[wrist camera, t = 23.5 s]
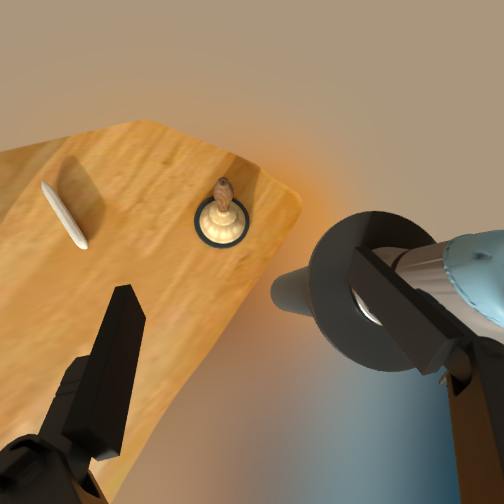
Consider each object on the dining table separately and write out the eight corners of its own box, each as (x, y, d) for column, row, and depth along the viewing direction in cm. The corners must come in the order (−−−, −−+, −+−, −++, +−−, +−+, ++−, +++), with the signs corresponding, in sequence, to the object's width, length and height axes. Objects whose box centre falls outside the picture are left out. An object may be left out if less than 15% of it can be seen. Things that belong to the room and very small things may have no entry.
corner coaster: (251, 200, 46) (251, 199, 45) (246, 251, 44) (246, 250, 43) (198, 193, 44) (197, 192, 44) (191, 245, 42) (190, 244, 42)
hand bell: (250, 237, 44) (266, 205, 28) (205, 248, 42) (196, 220, 27) (239, 196, 45) (248, 142, 29) (195, 205, 43) (180, 153, 28)
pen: (51, 181, 41) (44, 177, 40) (93, 247, 40) (87, 245, 39) (42, 186, 41) (35, 181, 39) (84, 252, 40) (78, 250, 38)
